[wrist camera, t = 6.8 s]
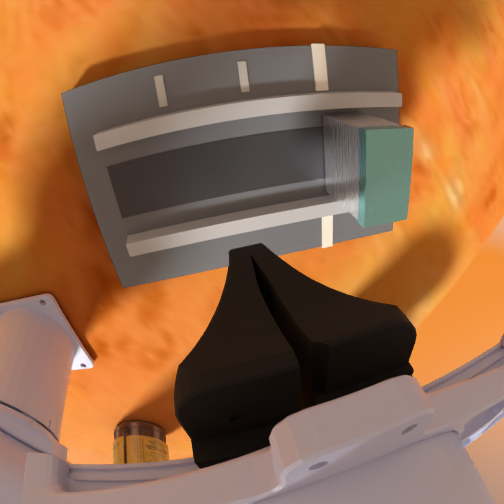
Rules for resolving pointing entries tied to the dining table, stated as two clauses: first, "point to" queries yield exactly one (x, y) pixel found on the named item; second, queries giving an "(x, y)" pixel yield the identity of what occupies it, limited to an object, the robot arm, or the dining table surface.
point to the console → (222, 153)
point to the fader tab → (368, 166)
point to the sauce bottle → (139, 443)
